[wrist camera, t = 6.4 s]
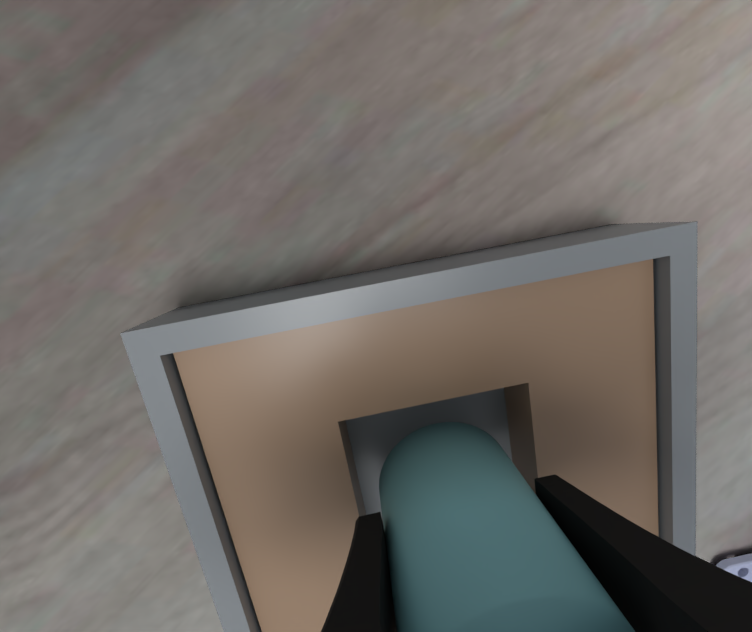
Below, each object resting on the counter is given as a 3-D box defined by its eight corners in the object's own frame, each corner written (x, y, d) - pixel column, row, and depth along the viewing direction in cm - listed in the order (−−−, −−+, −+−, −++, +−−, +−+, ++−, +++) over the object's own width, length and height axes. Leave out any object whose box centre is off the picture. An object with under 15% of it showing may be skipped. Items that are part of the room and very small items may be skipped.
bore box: (611, 224, 14) (697, 221, 11) (625, 539, 17) (695, 616, 14) (177, 308, 13) (120, 333, 10) (272, 618, 17) (253, 717, 13)
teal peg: (505, 411, 12) (651, 575, 6) (513, 527, 13) (647, 761, 7) (369, 434, 12) (392, 625, 6) (388, 550, 13) (423, 809, 7)
